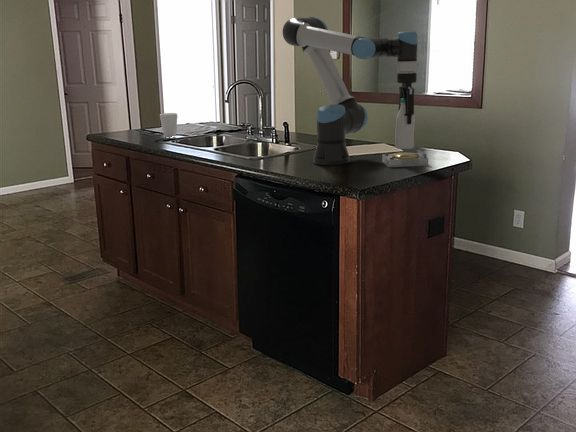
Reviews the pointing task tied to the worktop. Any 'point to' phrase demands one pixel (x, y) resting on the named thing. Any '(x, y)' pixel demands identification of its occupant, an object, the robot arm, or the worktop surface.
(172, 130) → the foam cup
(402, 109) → the milk bottle
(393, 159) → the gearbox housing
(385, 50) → the robot arm
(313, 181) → the worktop surface
